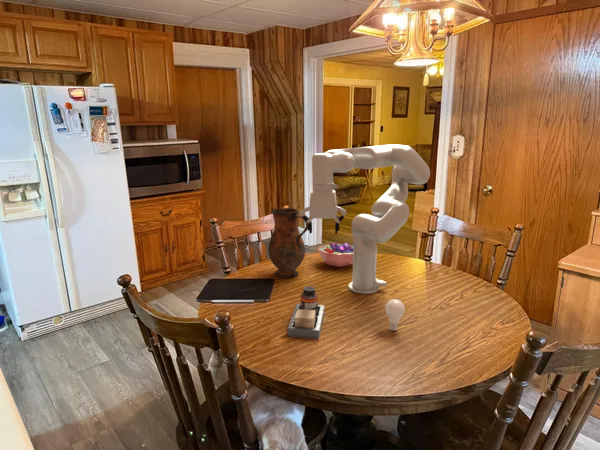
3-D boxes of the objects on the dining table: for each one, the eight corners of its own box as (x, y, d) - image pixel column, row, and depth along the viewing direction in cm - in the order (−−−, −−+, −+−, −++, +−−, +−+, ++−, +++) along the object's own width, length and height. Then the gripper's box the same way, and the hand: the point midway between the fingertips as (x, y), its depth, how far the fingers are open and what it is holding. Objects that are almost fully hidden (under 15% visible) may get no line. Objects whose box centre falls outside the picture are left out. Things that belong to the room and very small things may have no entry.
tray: (324, 315, 146) (324, 305, 145) (318, 341, 129) (318, 330, 128) (296, 313, 148) (296, 303, 147) (287, 339, 130) (287, 328, 130)
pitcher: (285, 265, 197) (284, 204, 190) (319, 275, 184) (320, 211, 176) (260, 274, 185) (258, 210, 178) (295, 286, 172) (295, 217, 164)
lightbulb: (404, 327, 138) (406, 297, 135) (402, 336, 132) (404, 305, 129) (385, 324, 140) (386, 294, 137) (382, 333, 134) (384, 302, 131)
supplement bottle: (299, 314, 145) (299, 285, 142) (316, 313, 145) (316, 284, 143) (301, 322, 139) (301, 292, 136) (318, 321, 140) (318, 291, 137)
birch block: (315, 326, 136) (315, 310, 135) (313, 335, 131) (313, 318, 129) (297, 325, 137) (297, 309, 136) (294, 334, 132) (294, 317, 130)
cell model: (322, 257, 208) (322, 236, 205) (361, 261, 203) (362, 239, 200) (314, 269, 192) (314, 246, 189) (356, 273, 187) (357, 249, 184)
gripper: (346, 185, 151) (346, 229, 155) (300, 186, 153) (301, 229, 157) (346, 189, 144) (346, 235, 148) (298, 189, 146) (299, 235, 150)
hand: (323, 232), depth 153 cm, fingers open, 9 cm apart
